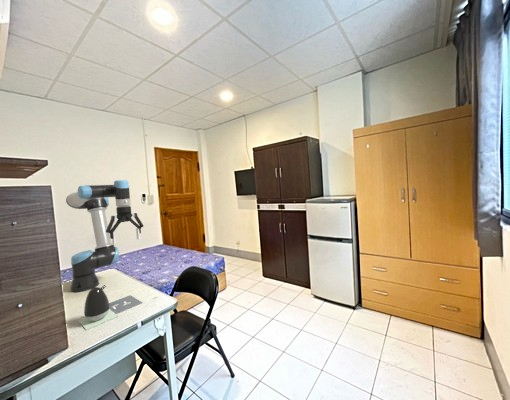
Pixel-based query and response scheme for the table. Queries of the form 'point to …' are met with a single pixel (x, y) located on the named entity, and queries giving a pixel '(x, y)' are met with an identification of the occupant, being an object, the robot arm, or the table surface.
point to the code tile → (124, 304)
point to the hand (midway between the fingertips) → (126, 241)
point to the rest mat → (90, 324)
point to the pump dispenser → (96, 304)
